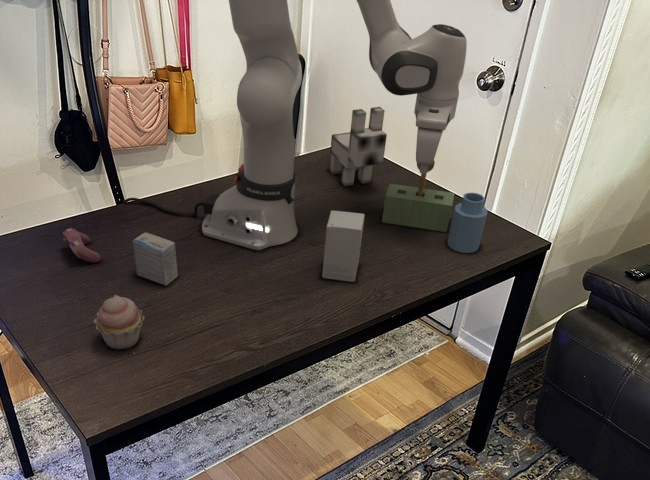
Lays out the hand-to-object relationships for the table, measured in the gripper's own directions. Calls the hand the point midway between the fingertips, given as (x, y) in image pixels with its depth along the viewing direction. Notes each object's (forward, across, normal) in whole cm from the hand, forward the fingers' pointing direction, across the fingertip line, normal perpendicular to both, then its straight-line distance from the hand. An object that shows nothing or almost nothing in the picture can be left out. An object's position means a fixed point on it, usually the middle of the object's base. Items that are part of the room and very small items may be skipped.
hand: (424, 167), depth 162 cm
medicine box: (+14, +42, -50) cm, 67 cm away
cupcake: (+14, +64, -48) cm, 81 cm away
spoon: (+14, 0, 0) cm, 14 cm away
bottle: (+14, +8, +12) cm, 20 cm away
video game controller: (+14, +39, -69) cm, 81 cm away
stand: (+14, 0, 0) cm, 14 cm away
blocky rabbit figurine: (+14, -18, -19) cm, 30 cm away
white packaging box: (+14, +28, -13) cm, 34 cm away
